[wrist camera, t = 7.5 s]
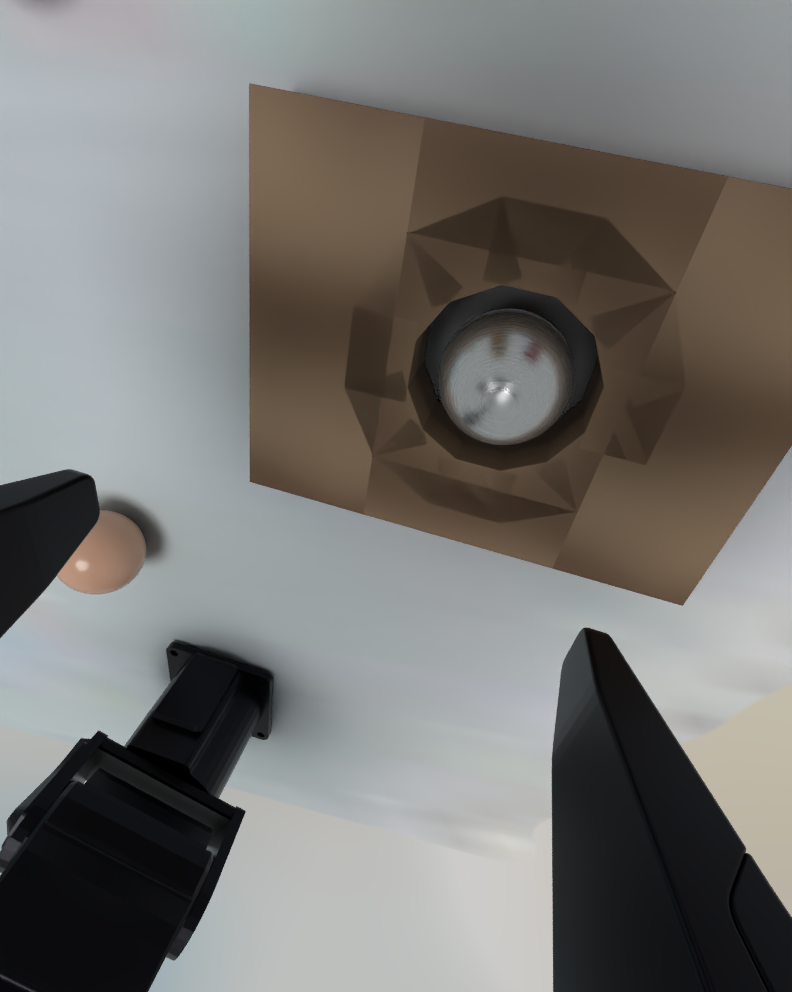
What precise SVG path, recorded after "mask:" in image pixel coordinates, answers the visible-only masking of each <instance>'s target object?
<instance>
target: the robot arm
mask: <svg viewBox="0 0 792 992" xmlns="http://www.w3.org/2000/svg"><path fill="white" fill-rule="evenodd" d="M99 515H100V507H99V502H98V497H97V491H96V486H95V481H94V479H93V478H92V477H91V476H90V475H88V474H85V473H82V472H79V471H75V470H70V469H67V470H62V471H58V472H54V473H50V474H46V475H41V476H37V477H33V478H29V479H25V480H21V481H16V482H12V483H8V484H4V485H0V638H1V637H2V636H3V635H4V634H5V633H6V631H7V630H8V629H9V628H10V627H11V626H12V625H13V624H14V623H15V622H16V621H17V620H18V619H19V618H20V616H21V615H22V614H23V613H24V612H25V611H26V610H27V609H28V608H29V607H30V606H31V605H32V604H33V603H34V602H35V600H36V599H37V598H38V597H39V596H40V595H41V594H42V593H43V592H44V590H45V589H46V588H47V587H48V586H49V584H50V583H51V582H52V581H53V580H54V578H55V577H56V576H57V574H58V573H59V572H60V571H61V569H62V568H63V567H64V565H65V564H66V563H67V561H68V560H69V559H70V557H71V556H72V555H73V553H74V552H75V551H76V550H77V548H78V547H79V546H80V544H81V543H82V542H83V540H84V539H85V538H86V536H87V535H88V534H89V532H90V531H91V530H92V529H93V527H94V526H95V525H96V523H97V521H98V519H99ZM166 651H167V658H168V665H169V672H170V679H171V682H170V684H169V685H168V686H167V688H166V689H165V691H164V692H163V693H162V695H161V696H160V697H159V699H158V700H157V702H156V703H155V704H154V706H153V707H152V709H151V710H150V711H149V713H148V714H147V715H146V717H145V718H144V720H143V721H142V722H141V724H140V725H139V726H138V728H137V729H136V731H135V732H134V733H133V735H132V736H131V738H130V739H129V740H128V742H127V743H126V744H125V746H122V745H120V744H118V743H116V742H115V741H113V740H111V739H109V738H107V737H108V735H106V734H104V733H103V732H101V731H98V732H97V733H96V734H95V735H94V736H93V737H92V738H91V739H83V738H81V739H80V740H79V741H78V743H77V744H76V745H75V746H74V748H73V749H72V750H71V751H70V753H69V754H68V755H67V757H66V758H65V759H64V760H63V761H62V762H61V764H60V765H59V766H58V767H57V768H56V769H55V770H54V771H53V772H52V773H51V775H50V776H49V777H47V778H46V779H45V780H44V781H43V783H41V784H40V785H39V787H37V788H36V789H35V790H34V791H33V792H32V793H31V794H30V795H29V796H28V797H27V798H26V799H25V800H24V801H23V802H22V803H21V804H20V805H19V806H18V807H17V808H16V809H15V810H14V812H13V813H12V814H11V815H10V817H9V818H8V820H7V835H8V836H7V838H6V839H5V841H4V843H3V845H2V850H1V851H0V872H1V873H2V874H1V876H0V992H148V991H149V989H150V987H151V985H152V983H153V981H154V979H155V977H156V975H157V973H158V971H159V969H160V967H161V965H162V963H163V961H164V959H165V957H167V958H169V959H171V960H175V959H176V958H178V956H179V955H180V953H181V952H182V951H183V949H184V947H185V946H186V945H187V943H188V941H189V940H190V938H191V936H192V934H193V932H194V931H195V929H196V927H197V925H198V923H199V921H200V919H201V917H202V916H203V913H204V911H205V909H206V907H207V905H208V903H209V901H210V899H211V896H212V894H213V892H214V889H215V887H216V884H217V882H218V880H219V877H220V875H221V872H222V869H223V867H224V864H225V862H226V859H227V856H228V854H229V852H230V849H231V847H232V844H233V842H234V839H235V836H236V834H237V832H238V829H239V827H240V824H241V822H242V819H243V817H244V814H245V810H243V809H241V808H239V807H237V806H236V807H233V806H231V805H229V804H228V803H226V802H224V801H222V800H220V799H219V797H220V795H221V793H222V791H223V789H224V787H225V785H226V783H227V781H228V779H229V777H230V775H231V774H232V772H233V770H234V768H235V766H236V764H237V762H238V760H239V758H240V756H241V754H242V752H243V750H244V749H245V747H246V745H247V743H248V741H249V739H250V737H251V736H253V737H256V738H259V739H262V740H266V739H268V737H269V735H270V733H271V716H272V691H273V677H272V676H271V675H270V674H269V673H267V672H265V671H262V670H259V669H256V668H253V667H250V666H247V665H244V664H241V663H238V662H235V661H232V660H229V659H226V658H223V657H220V656H217V655H214V654H211V653H208V652H205V651H202V650H199V649H196V648H193V647H190V646H187V645H183V644H180V643H177V642H172V643H171V644H170V645H169V646H168V648H167V650H166ZM86 780H87V782H86V783H85V784H83V783H84V782H85V781H86ZM745 852H746V847H745V846H744V844H743V842H742V841H741V839H740V838H739V836H738V834H737V833H736V831H735V830H734V828H733V827H732V825H731V824H730V822H729V820H728V819H727V817H726V816H725V814H724V813H723V811H722V810H721V808H720V806H719V805H718V803H717V802H716V800H715V799H714V797H713V795H712V794H711V792H710V791H709V789H708V788H707V786H706V785H705V783H704V782H703V780H702V778H701V777H700V775H699V774H698V772H697V771H696V769H695V768H694V766H693V764H692V763H691V761H690V760H689V758H688V756H687V755H686V754H685V752H684V750H683V749H682V747H681V746H680V744H679V742H678V741H677V739H676V738H675V736H674V735H673V733H672V732H671V730H670V728H669V727H668V725H667V724H666V722H665V721H664V719H663V717H662V716H661V714H660V713H659V711H658V710H657V708H656V707H655V705H654V703H653V702H652V700H651V699H650V697H649V696H648V694H647V693H646V691H645V689H644V688H643V686H642V685H641V683H640V682H639V680H638V678H637V677H636V675H635V674H634V672H633V671H632V669H631V668H630V666H629V664H628V663H627V661H626V660H625V658H624V657H623V655H622V654H621V652H620V650H619V649H618V647H617V646H616V644H615V643H614V641H613V639H612V638H611V637H610V636H609V635H608V634H606V633H603V632H600V631H597V630H594V629H590V628H583V629H582V630H581V631H580V632H579V634H578V636H577V637H576V639H575V641H574V643H573V645H572V646H571V648H570V650H569V652H568V653H567V655H566V657H565V659H564V662H563V665H562V671H561V679H560V688H559V697H558V706H557V715H556V724H555V732H554V741H553V752H552V878H553V992H792V917H791V916H790V914H789V913H788V911H787V910H786V908H785V907H784V905H783V904H782V902H781V901H780V899H779V898H778V896H777V895H776V893H775V892H774V890H773V889H772V887H771V886H770V884H769V883H768V881H767V879H766V878H765V876H764V875H763V873H762V872H761V870H760V869H759V867H758V865H757V864H756V862H755V861H754V859H753V857H752V856H751V855H750V854H748V853H745Z"/></svg>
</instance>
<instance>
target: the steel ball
mask: <svg viewBox="0 0 792 992" xmlns="http://www.w3.org/2000/svg"><path fill="white" fill-rule="evenodd" d="M573 385H574V363H573V358H572V354H571V351H570V349H569V347H568V344H567V342H566V340H565V339H564V337H563V336H562V334H561V333H560V332H559V331H558V330H557V328H556V327H555V326H553V325H552V324H551V323H550V322H549V321H547V320H546V319H544V318H542V317H541V316H539V315H537V314H534V313H532V312H529V311H526V310H521V309H508V308H506V309H497V310H493V311H489V312H486V313H484V314H481V315H479V316H477V317H475V318H473V319H472V320H470V321H469V322H467V323H466V324H465V325H463V326H462V327H461V328H460V329H459V330H458V331H457V332H456V334H455V335H454V336H453V337H452V339H451V340H450V342H449V343H448V345H447V347H446V348H445V351H444V353H443V355H442V359H441V362H440V366H439V372H438V386H439V394H440V398H441V401H442V404H443V406H444V409H445V410H446V412H447V414H448V416H449V417H450V419H451V420H452V421H453V423H454V424H455V425H456V426H457V427H458V428H459V429H460V430H462V431H463V432H464V433H465V434H467V435H469V436H470V437H472V438H474V439H476V440H479V441H481V442H484V443H488V444H493V445H513V444H519V443H522V442H526V441H528V440H531V439H533V438H535V437H537V436H539V435H541V434H542V433H543V432H545V431H546V430H548V429H549V428H550V427H551V426H552V425H553V424H554V423H555V422H556V421H557V420H558V418H559V417H560V416H561V415H562V413H563V411H564V410H565V408H566V406H567V404H568V402H569V400H570V397H571V394H572V390H573Z"/></svg>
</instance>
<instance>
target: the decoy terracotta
mask: <svg viewBox="0 0 792 992" xmlns="http://www.w3.org/2000/svg"><path fill="white" fill-rule="evenodd" d="M145 557H146V543H145V539H144V536H143V534H142V532H141V530H140V529H139V528H138V526H137V525H136V524H135V523H134V522H133V521H132V520H130V519H129V518H127V517H126V516H124V515H122V514H119V513H117V512H113V511H107V510H100V515H99V519H98V521H97V523H96V525H95V526H94V527H93V529H92V530H91V531H90V532H89V534H88V535H87V536H86V538H85V539H84V540H83V542H82V543H81V544H80V546H79V547H78V548H77V550H76V551H75V552H74V553H73V555H72V556H71V557H70V559H69V560H68V561H67V563H66V564H65V565H64V567H63V568H62V569H61V571H60V572H59V573H58V574H57V577H58V578H59V579H60V580H61V581H62V582H63V583H64V584H65V585H66V586H68V587H69V588H71V589H73V590H75V591H78V592H81V593H85V594H106V593H110V592H114V591H116V590H118V589H121V588H123V587H124V586H126V585H127V584H129V583H130V582H131V581H132V580H133V579H134V578H135V577H136V576H137V575H138V573H139V572H140V570H141V568H142V567H143V564H144V561H145Z"/></svg>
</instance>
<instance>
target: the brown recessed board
mask: <svg viewBox="0 0 792 992" xmlns="http://www.w3.org/2000/svg"><path fill="white" fill-rule="evenodd" d="M249 186H250V482H253V483H256V484H260V485H263V486H267V487H270V488H274V489H277V490H281V491H284V492H288V493H291V494H295V495H298V496H302V497H305V498H309V499H312V500H316V501H319V502H323V503H326V504H330V505H333V506H336V507H340V508H343V509H347V510H350V511H354V512H357V513H361V514H364V515H368V516H371V517H375V518H378V519H382V520H385V521H389V522H392V523H396V524H399V525H403V526H406V527H410V528H413V529H417V530H420V531H424V532H427V533H431V534H434V535H438V536H441V537H445V538H448V539H452V540H455V541H459V542H462V543H466V544H469V545H473V546H476V547H480V548H483V549H487V550H490V551H494V552H497V553H501V554H504V555H508V556H511V557H514V558H518V559H521V560H525V561H528V562H532V563H535V564H539V565H542V566H546V567H549V568H553V569H556V570H560V571H563V572H567V573H570V574H574V575H577V576H581V577H584V578H588V579H591V580H595V581H598V582H602V583H605V584H609V585H612V586H616V587H619V588H623V589H626V590H630V591H633V592H637V593H640V594H644V595H647V596H651V597H654V598H658V599H661V600H665V601H668V602H672V603H675V604H679V605H682V606H683V604H684V603H685V601H686V600H687V599H688V597H689V596H690V594H691V593H692V591H693V590H694V588H695V587H696V585H697V584H698V582H699V581H700V579H701V578H702V576H703V575H704V574H705V572H706V571H707V569H708V568H709V566H710V565H711V563H712V562H713V560H714V559H715V557H716V556H717V554H718V553H719V552H720V550H721V549H722V547H723V546H724V544H725V543H726V541H727V540H728V538H729V537H730V535H731V534H732V532H733V531H734V530H735V528H736V527H737V525H738V524H739V522H740V521H741V519H742V518H743V516H744V515H745V513H746V512H747V510H748V509H749V508H750V506H751V505H752V503H753V502H754V500H755V499H756V497H757V496H758V494H759V493H760V491H761V490H762V488H763V487H764V485H765V484H766V483H767V481H768V480H769V478H770V477H771V475H772V474H773V472H774V471H775V469H776V468H777V466H778V465H779V463H780V462H781V461H782V459H783V458H784V456H785V455H786V453H787V452H788V450H789V449H790V447H791V446H792V189H790V188H785V187H780V186H775V185H770V184H764V183H759V182H754V181H749V180H744V179H739V178H734V177H728V176H723V175H718V174H713V173H708V172H703V171H698V170H692V169H687V168H682V167H677V166H672V165H667V164H661V163H656V162H651V161H646V160H641V159H636V158H631V157H625V156H620V155H615V154H610V153H605V152H600V151H595V150H589V149H584V148H579V147H574V146H569V145H564V144H558V143H553V142H548V141H543V140H538V139H533V138H528V137H522V136H517V135H512V134H507V133H502V132H497V131H492V130H486V129H481V128H476V127H471V126H466V125H461V124H456V123H450V122H445V121H440V120H435V119H430V118H425V117H419V116H414V115H409V114H404V113H399V112H394V111H389V110H383V109H378V108H373V107H368V106H363V105H358V104H353V103H347V102H342V101H337V100H332V99H327V98H322V97H317V96H311V95H306V94H301V93H296V92H291V91H286V90H280V89H275V88H270V87H265V86H260V85H255V84H250V83H249ZM500 285H504V286H509V287H513V288H518V289H522V290H526V291H531V292H535V293H540V294H544V295H548V296H553V297H557V298H558V299H559V300H560V301H561V302H562V303H563V304H564V305H565V306H566V307H567V308H568V309H569V310H570V311H571V312H572V313H573V314H574V315H575V316H576V317H577V319H578V320H579V321H580V322H581V323H582V324H583V325H584V326H585V327H586V328H587V329H588V330H589V331H590V332H591V333H592V334H593V335H594V336H595V342H596V347H597V353H598V361H597V363H596V366H595V368H594V371H593V373H592V376H591V378H590V381H589V383H588V386H587V389H586V391H585V394H584V396H583V399H582V400H581V401H580V402H579V403H578V404H576V405H575V406H574V407H573V408H572V409H570V410H569V411H568V412H567V413H565V414H564V415H563V416H562V417H561V418H559V419H558V420H557V421H556V422H555V423H554V424H553V425H552V426H551V427H550V428H549V429H548V430H546V431H545V432H543V433H542V434H541V435H539V436H537V437H535V438H533V439H531V440H528V441H526V442H522V443H519V444H513V445H493V444H488V443H484V442H481V441H479V440H476V439H474V438H472V437H470V436H469V435H467V434H465V433H464V432H463V431H462V430H460V429H459V428H458V427H457V426H456V425H455V424H454V423H453V421H452V420H451V419H450V417H449V416H448V414H447V412H446V410H445V409H444V406H443V404H441V403H440V402H439V401H438V400H437V398H436V395H435V392H434V389H433V386H432V383H431V381H430V378H429V375H428V372H427V369H426V366H425V363H424V357H425V352H426V347H427V342H428V337H429V332H430V326H431V323H432V322H433V320H434V319H435V318H436V317H437V316H438V315H439V314H440V312H441V311H442V310H443V309H444V308H445V307H446V306H447V304H448V303H449V302H451V301H454V300H458V299H461V298H464V297H467V296H470V295H473V294H476V293H479V292H482V291H485V290H488V289H491V288H494V287H497V286H500Z"/></svg>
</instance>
